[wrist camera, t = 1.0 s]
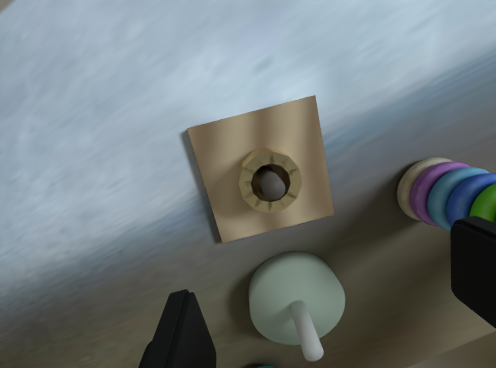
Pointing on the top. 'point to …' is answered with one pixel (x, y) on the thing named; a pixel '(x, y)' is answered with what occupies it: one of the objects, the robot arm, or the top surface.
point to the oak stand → (267, 176)
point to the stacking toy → (447, 192)
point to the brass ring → (289, 179)
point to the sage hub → (296, 301)
